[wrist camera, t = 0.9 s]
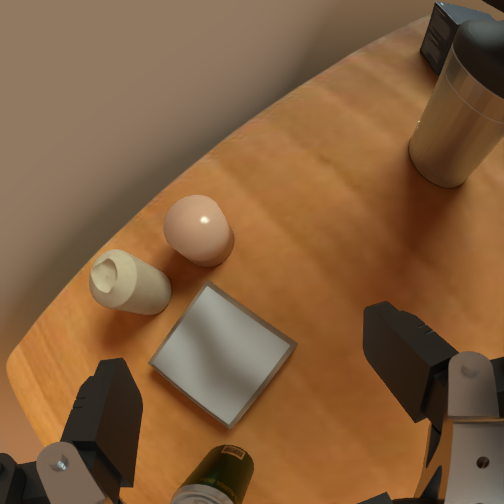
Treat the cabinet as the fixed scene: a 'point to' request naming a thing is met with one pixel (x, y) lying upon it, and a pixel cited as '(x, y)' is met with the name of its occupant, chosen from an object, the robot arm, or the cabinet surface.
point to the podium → (221, 354)
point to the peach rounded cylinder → (199, 231)
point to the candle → (128, 284)
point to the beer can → (218, 478)
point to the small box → (445, 31)
